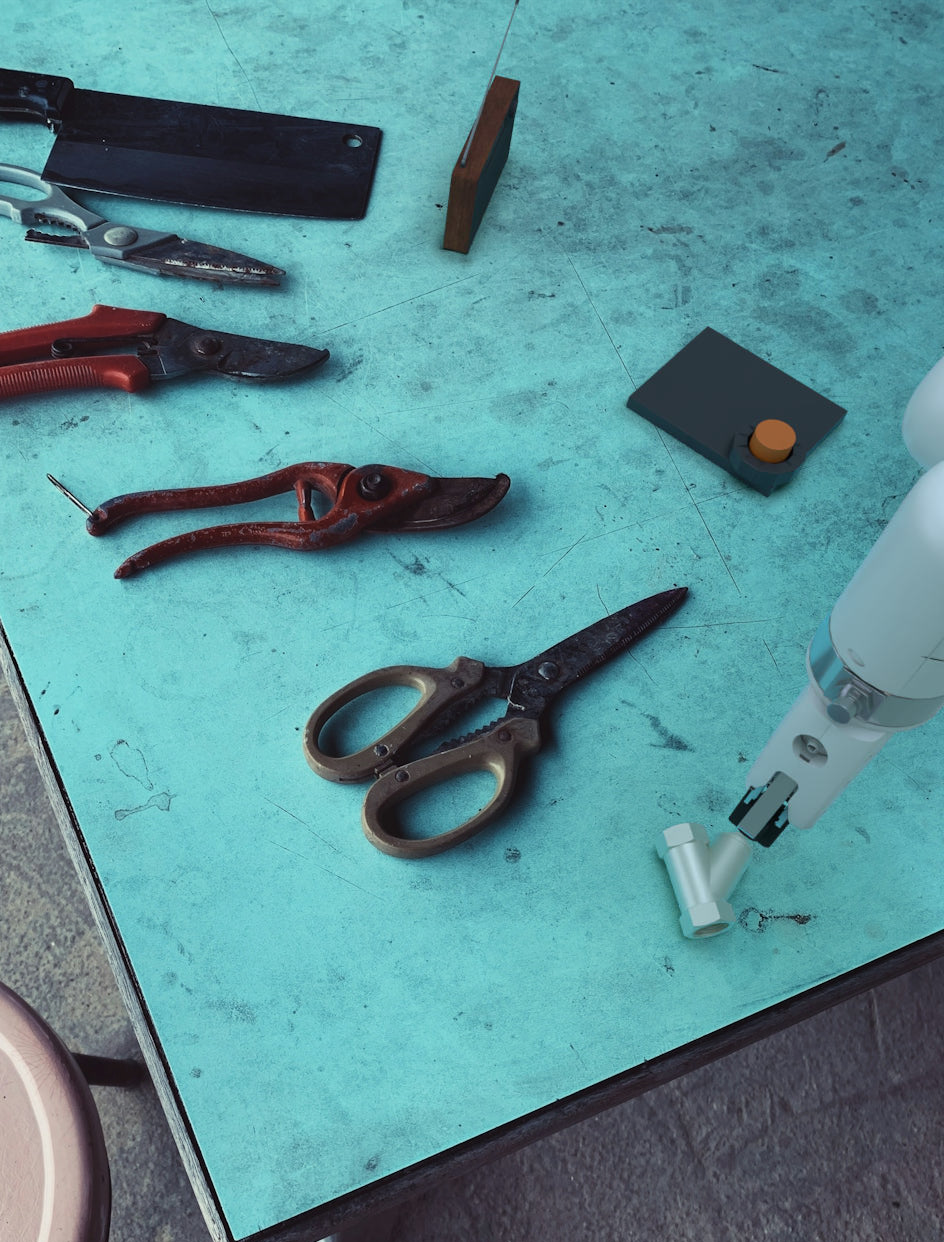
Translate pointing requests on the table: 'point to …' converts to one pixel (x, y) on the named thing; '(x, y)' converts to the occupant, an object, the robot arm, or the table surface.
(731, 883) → the pipe fitting
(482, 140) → the radio
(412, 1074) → the table surface
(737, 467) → the scale
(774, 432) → the button
